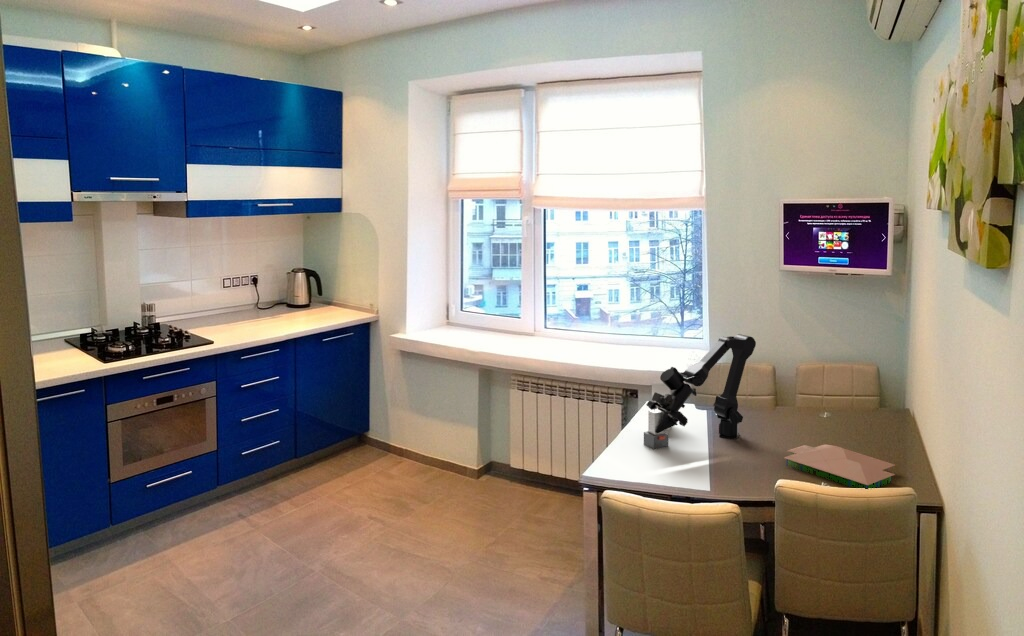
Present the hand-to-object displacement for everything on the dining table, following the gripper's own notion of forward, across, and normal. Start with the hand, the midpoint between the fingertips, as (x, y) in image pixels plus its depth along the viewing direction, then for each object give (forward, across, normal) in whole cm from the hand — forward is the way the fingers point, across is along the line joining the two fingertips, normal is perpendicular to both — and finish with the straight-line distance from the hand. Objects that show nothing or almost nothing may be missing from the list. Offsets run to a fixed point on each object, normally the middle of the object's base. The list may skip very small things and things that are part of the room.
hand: (652, 431), depth 267 cm
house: (-25, +46, +36) cm, 63 cm away
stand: (+4, 0, +6) cm, 7 cm away
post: (+3, 0, +5) cm, 6 cm away
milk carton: (-6, -18, +17) cm, 25 cm away
